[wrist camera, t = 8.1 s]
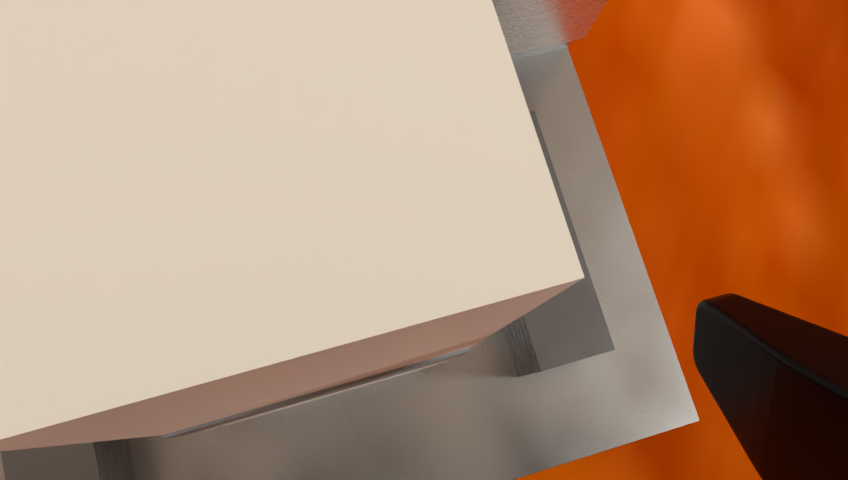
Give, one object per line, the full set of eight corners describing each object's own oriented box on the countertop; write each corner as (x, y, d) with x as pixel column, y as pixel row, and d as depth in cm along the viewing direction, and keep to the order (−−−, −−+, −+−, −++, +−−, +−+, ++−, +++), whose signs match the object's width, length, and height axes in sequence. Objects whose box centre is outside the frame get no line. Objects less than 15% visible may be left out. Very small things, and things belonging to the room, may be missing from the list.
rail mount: (691, 420, 16) (1183, 427, 7) (-22, 645, 14) (-867, 1156, 4) (550, 19, 18) (768, -431, 9) (-94, 162, 16) (-784, -224, 6)
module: (446, 364, 16) (588, 282, 6) (208, 433, 15) (-69, 465, 5) (388, 165, 17) (431, -189, 7) (161, 220, 16) (-148, -87, 6)
